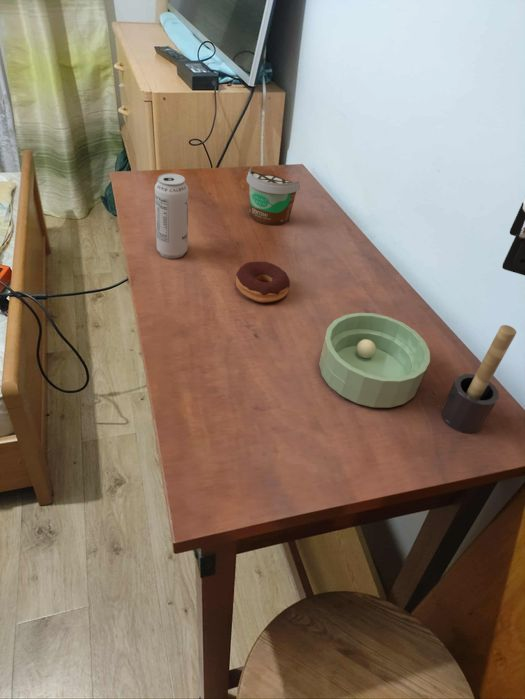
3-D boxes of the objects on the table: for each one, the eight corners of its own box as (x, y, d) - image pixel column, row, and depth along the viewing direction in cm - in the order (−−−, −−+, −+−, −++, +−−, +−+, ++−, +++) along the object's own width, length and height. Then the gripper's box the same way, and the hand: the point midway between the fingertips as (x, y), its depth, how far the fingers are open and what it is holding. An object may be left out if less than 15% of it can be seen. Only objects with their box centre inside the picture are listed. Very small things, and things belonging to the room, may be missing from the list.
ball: (370, 349, 83) (375, 335, 81) (375, 362, 81) (379, 348, 79) (352, 349, 83) (356, 335, 81) (356, 361, 81) (361, 347, 79)
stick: (466, 410, 75) (512, 325, 65) (471, 420, 74) (519, 335, 63) (453, 410, 75) (497, 324, 65) (458, 420, 73) (504, 334, 63)
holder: (472, 402, 77) (488, 374, 73) (489, 433, 73) (506, 404, 69) (435, 402, 76) (448, 373, 73) (449, 433, 72) (464, 404, 68)
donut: (294, 304, 92) (297, 286, 89) (240, 307, 90) (242, 288, 87) (281, 274, 99) (283, 256, 97) (231, 275, 97) (232, 257, 94)
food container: (234, 218, 115) (238, 175, 108) (245, 208, 119) (249, 166, 113) (285, 233, 112) (292, 189, 106) (294, 222, 117) (301, 179, 110)
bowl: (401, 342, 87) (411, 314, 83) (431, 411, 75) (445, 382, 71) (311, 340, 85) (318, 311, 81) (328, 410, 73) (336, 380, 69)
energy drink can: (190, 258, 100) (191, 185, 90) (160, 261, 98) (157, 186, 88) (183, 243, 104) (184, 171, 95) (154, 245, 102) (151, 172, 93)
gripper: (648, 125, 41) (551, 299, 52) (630, 87, 54) (554, 234, 65) (551, 105, 43) (477, 276, 54) (555, 73, 56) (494, 217, 67)
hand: (519, 253), depth 60 cm, fingers open, 9 cm apart
